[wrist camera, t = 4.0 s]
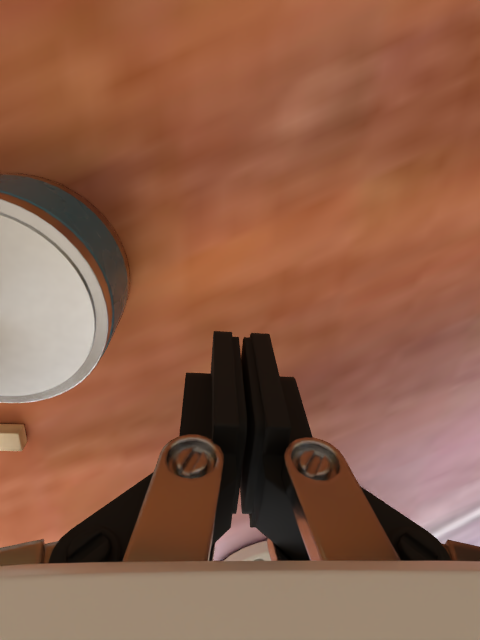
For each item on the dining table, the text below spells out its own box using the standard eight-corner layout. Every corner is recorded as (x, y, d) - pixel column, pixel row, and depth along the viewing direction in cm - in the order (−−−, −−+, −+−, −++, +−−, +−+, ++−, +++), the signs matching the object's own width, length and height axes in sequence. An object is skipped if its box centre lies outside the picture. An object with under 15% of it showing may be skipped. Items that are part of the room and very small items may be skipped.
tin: (127, 181, 18) (101, 201, 14) (133, 354, 22) (114, 410, 18) (-91, 162, 17) (-189, 178, 13) (-42, 346, 21) (-104, 402, 17)
